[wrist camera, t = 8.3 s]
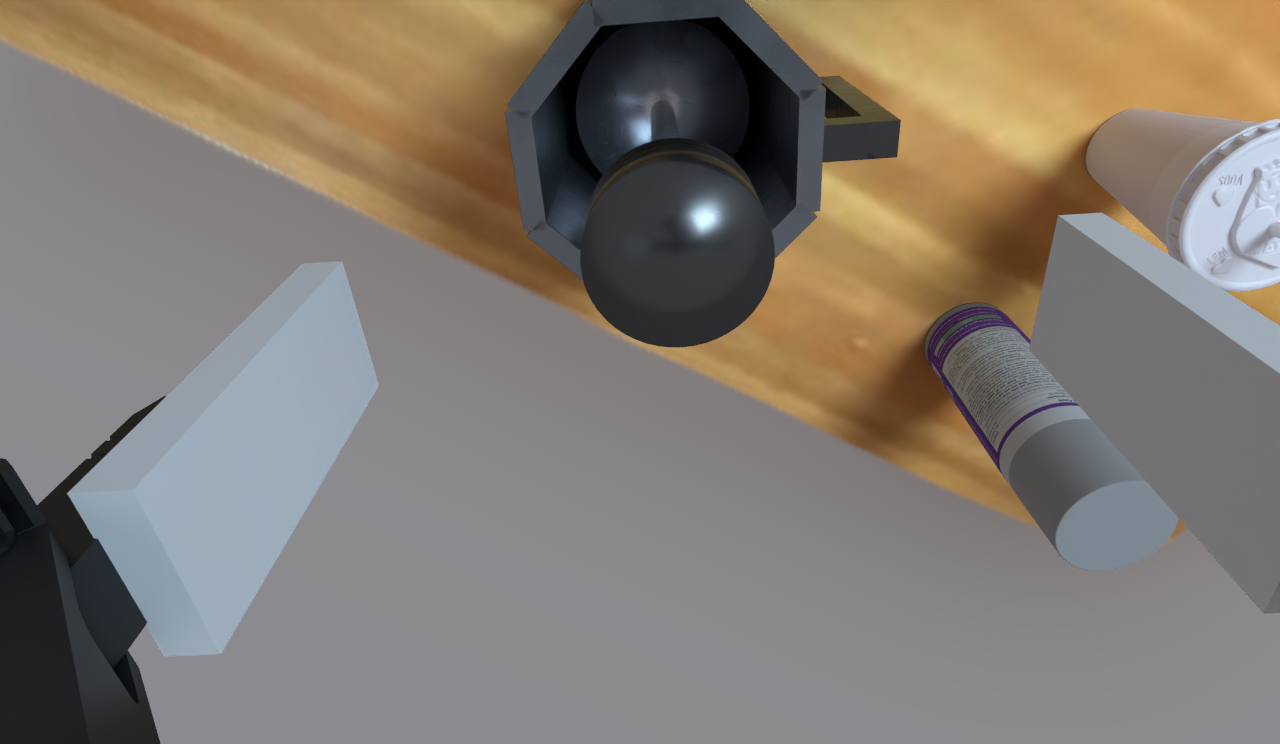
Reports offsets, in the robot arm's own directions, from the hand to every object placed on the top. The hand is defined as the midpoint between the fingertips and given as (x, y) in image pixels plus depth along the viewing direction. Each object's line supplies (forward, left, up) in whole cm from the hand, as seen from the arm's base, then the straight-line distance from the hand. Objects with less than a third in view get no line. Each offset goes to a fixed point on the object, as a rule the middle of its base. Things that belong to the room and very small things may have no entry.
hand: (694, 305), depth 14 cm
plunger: (0, 0, -20) cm, 20 cm away
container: (+14, +16, -24) cm, 32 cm away
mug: (0, +1, -23) cm, 24 cm away
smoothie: (+4, +22, -24) cm, 32 cm away
